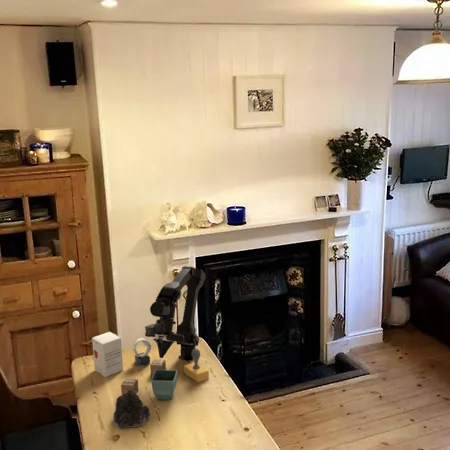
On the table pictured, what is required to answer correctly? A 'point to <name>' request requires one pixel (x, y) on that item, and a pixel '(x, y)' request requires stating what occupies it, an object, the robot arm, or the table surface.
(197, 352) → the rubber stamp
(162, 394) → the flower pot
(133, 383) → the numbered block one
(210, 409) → the table surface
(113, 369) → the supplement box
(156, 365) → the numbered block seven
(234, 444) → the table surface
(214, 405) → the table surface
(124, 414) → the crystal cluster
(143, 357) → the watch
